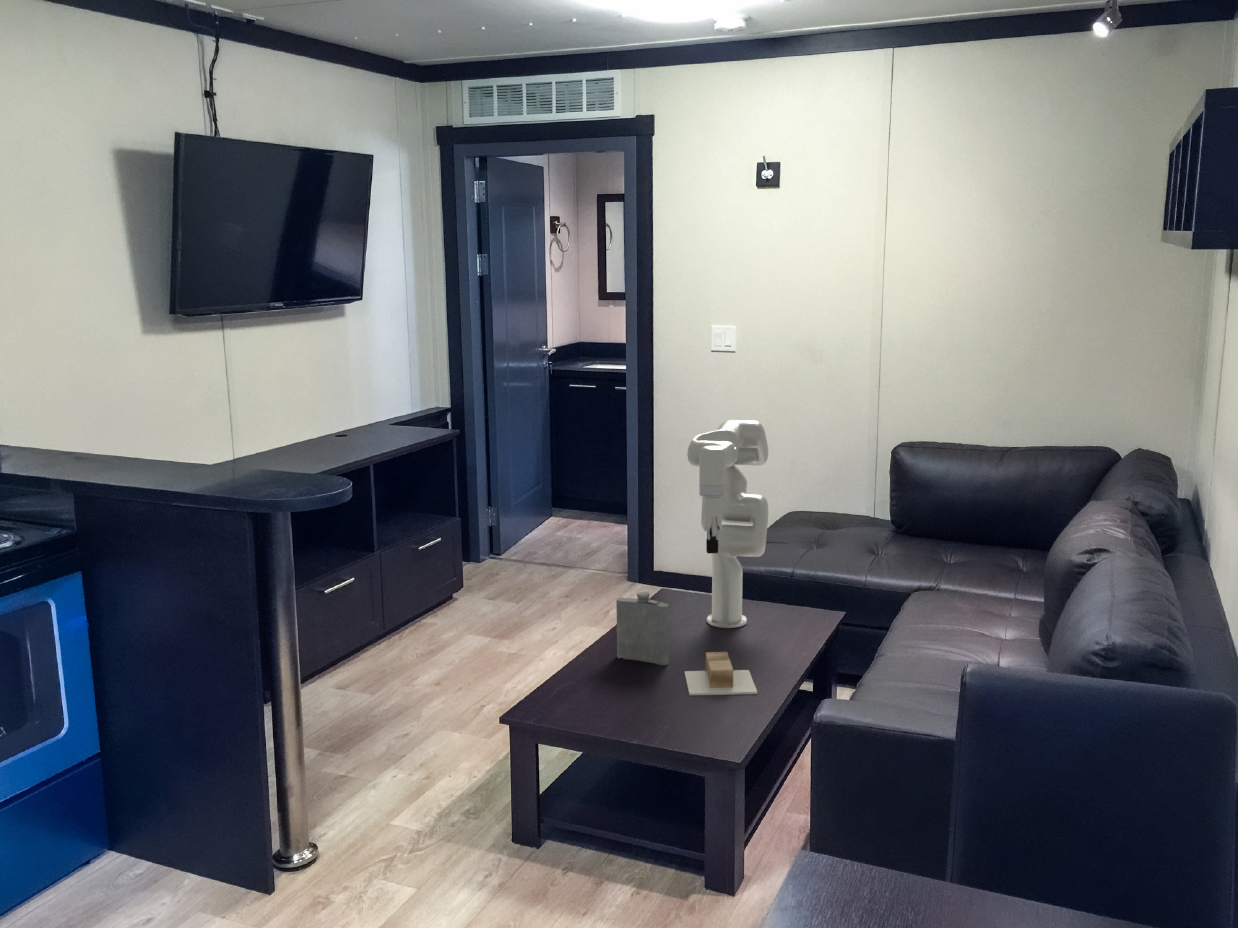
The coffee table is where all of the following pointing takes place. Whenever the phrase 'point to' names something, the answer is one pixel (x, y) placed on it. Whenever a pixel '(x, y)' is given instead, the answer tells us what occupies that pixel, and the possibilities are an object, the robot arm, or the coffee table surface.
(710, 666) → the brown wooden block
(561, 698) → the coffee table surface
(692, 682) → the mat
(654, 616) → the hip flask
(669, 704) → the coffee table surface
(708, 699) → the coffee table surface
